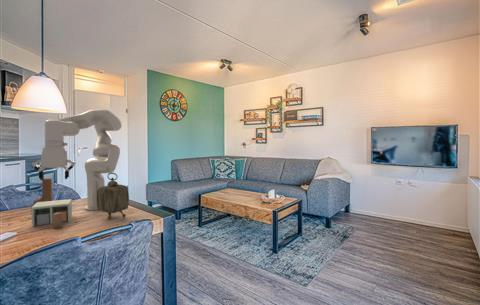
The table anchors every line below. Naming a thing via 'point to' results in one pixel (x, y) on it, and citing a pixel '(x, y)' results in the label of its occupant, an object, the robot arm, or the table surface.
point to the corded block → (59, 218)
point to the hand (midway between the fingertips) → (54, 179)
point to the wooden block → (45, 191)
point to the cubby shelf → (51, 209)
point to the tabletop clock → (112, 197)
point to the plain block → (43, 218)
